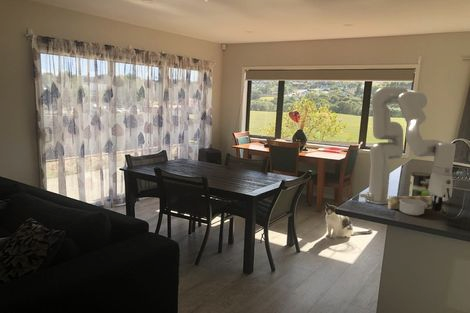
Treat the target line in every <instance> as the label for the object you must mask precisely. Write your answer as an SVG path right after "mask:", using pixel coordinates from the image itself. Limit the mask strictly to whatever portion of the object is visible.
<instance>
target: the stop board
mask: <svg viewBox="0 0 470 313" xmlns="http://www.w3.org/2000/svg"><path fill="white" fill-rule="evenodd" d="M387 199H388V204H387V209H389V210H399V209H400V201H399V200H400V199H415V200H420V201H423V202H425V203H426V204H432V203H433V201H432V196H431V195H429V196H409V195H403V196H402V195H397V196H396V195H393V196H392V195H390V196H389V195H388V198H387ZM425 209H426V210H427V209H431V210H432V207H430V208H425V207H424V210H425Z"/></svg>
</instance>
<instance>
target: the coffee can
mask: <svg viewBox="0 0 470 313" xmlns="http://www.w3.org/2000/svg"><path fill="white" fill-rule="evenodd" d="M431 174H432V173H426V172H418V171H417V172H414V171H413V172H411V173H410V184H409V193H408V196H430V194H429V193H430V192H429V191H428V187H429V181H430V177H431Z"/></svg>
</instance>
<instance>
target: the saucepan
mask: <svg viewBox="0 0 470 313" xmlns="http://www.w3.org/2000/svg"><path fill="white" fill-rule="evenodd" d="M399 201H400V209H398V210H399V211H400V212H402V213H403V214H405V215H410V216H420V215H423V214H425V209H424V207H425V208H430V207H431V208H432V205H433V203H431V204H426V203H425V202H423V201H420V200H415V199H400V200H399ZM441 207H447V205H446V204H442V206H441Z"/></svg>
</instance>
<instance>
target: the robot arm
mask: <svg viewBox="0 0 470 313" xmlns="http://www.w3.org/2000/svg"><path fill="white" fill-rule="evenodd" d="M427 104H428V98H427V96H426V94H425V93H424V92H421V91H418V90H413V89H410V88H406V87H394V86H384V87H382V86H381V87H380V88H377V89H376V90H375V91H374V92H373V94H372V96H371V109H372V135H373V137H374V139H376V140H378V141H379V140H380V142H376V143H373V144H372V145H371V147H370V149H369V157H370V169H369V170H370V172H369V184H368V185H369V186H368V191H366V193H359V198H363V199H364V200H365V201H366V202H368V203H369V204H376V205H388V199H389V188H390V187H389V184H390V174H391V168H390V164H389V162H388V161H397V160H399V159H400V158H402V156H403V153H404V129H403V127H402V124H400V122H398V121H392V120H391V110H390V109H389V106H388V105H398V107H399V109H400V112H401V113H402V115H403V118H404V120H405V122H406V124H407V126H406V129H405V130H406V131H405V139H406V142H407V145H408V147H409V149H410V150H411V152H412V154H414V155H415V156H416V157H433V164H432V170H431V173H430V174H431V177H430V181H429V187H428V191H429V192H430V193H429V196H431V197H432V204H433V205H432V207H431V211H433V212H441V211H442V207H443V206H442V205H443V203H444V202H448V200H449V198H452V194H453V189H454V188H453V187H454V185H453V184H454V183H453V182H454V178H453V174H452V173H453V167H454V162H455V161H454V160H455V156H456V155H455V154H456V145H455V144H454V143H453V142H444V141H441V140H438V139H423V138H422V137H423V136H422V135H421V133H420V126H421V125H422V124H424V123H425V122H426V120H427V115H426V114H425V111H424V110H423V109H424V108H425V107H426V106H427ZM381 141H385V142H381Z"/></svg>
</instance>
